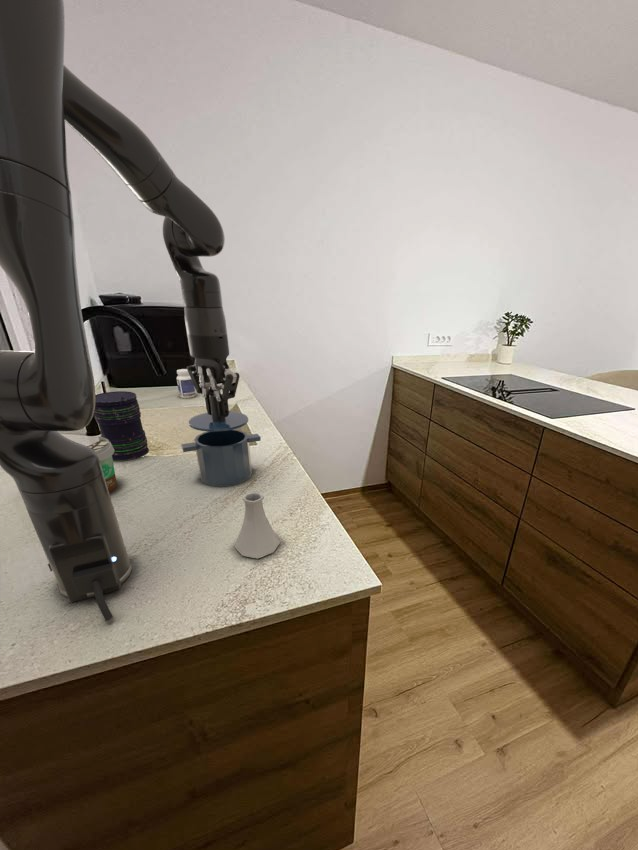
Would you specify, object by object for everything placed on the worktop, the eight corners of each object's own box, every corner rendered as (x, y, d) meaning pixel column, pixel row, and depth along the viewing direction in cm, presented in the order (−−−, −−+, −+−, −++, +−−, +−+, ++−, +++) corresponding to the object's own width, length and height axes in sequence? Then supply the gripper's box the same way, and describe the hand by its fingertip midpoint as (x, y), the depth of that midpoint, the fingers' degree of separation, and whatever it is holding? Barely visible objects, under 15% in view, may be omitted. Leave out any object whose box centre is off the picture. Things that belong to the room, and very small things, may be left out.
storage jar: (96, 456, 97) (79, 398, 90) (130, 443, 105) (116, 389, 99) (125, 464, 94) (109, 404, 87) (158, 450, 102) (145, 394, 96)
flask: (257, 564, 63) (252, 513, 58) (227, 549, 66) (220, 499, 62) (287, 543, 69) (284, 494, 64) (258, 529, 72) (253, 482, 67)
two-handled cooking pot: (268, 478, 90) (265, 440, 86) (192, 493, 83) (184, 452, 79) (255, 460, 99) (252, 424, 95) (185, 472, 92) (178, 434, 87)
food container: (92, 507, 76) (77, 461, 72) (65, 503, 77) (49, 458, 73) (136, 480, 87) (125, 438, 82) (112, 476, 88) (100, 435, 83)
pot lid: (255, 429, 83) (252, 399, 80) (194, 437, 78) (188, 406, 75) (241, 413, 93) (238, 385, 90) (185, 419, 87) (180, 390, 84)
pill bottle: (198, 395, 150) (194, 369, 146) (189, 399, 145) (185, 372, 141) (185, 393, 151) (181, 368, 147) (176, 397, 146) (171, 370, 142)
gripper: (167, 329, 77) (182, 413, 85) (216, 337, 70) (227, 426, 78) (199, 327, 82) (210, 405, 90) (246, 333, 76) (254, 417, 84)
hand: (218, 415), depth 84 cm, fingers closed on pot lid, 3 cm apart
